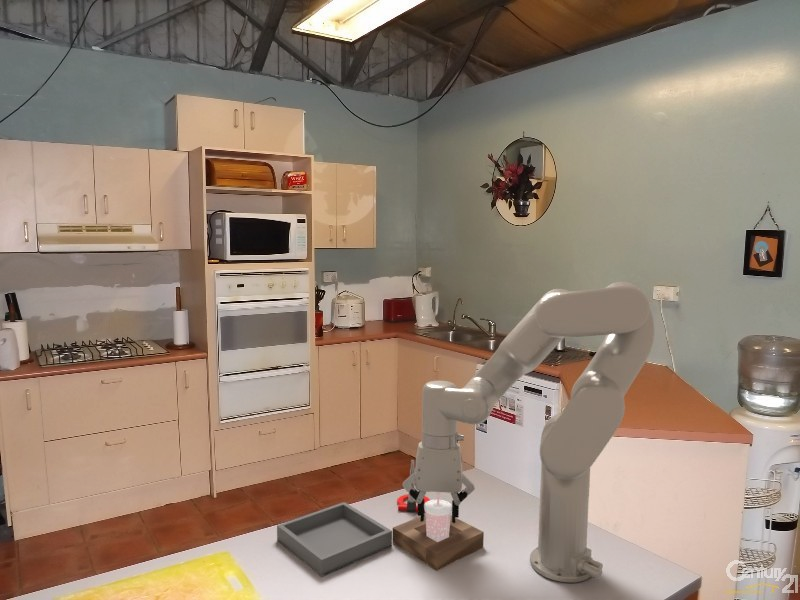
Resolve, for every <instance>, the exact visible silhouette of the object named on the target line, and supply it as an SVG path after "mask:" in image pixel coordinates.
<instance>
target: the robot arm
mask: <svg viewBox="0 0 800 600" xmlns="http://www.w3.org/2000/svg"><path fill="white" fill-rule="evenodd" d="M596 336H605V337H604V339H603V340H602V343H601V344H600V345H599V347H598V349H597V350H596V353H595V354H594V356H593V357H592V358H591V360H590V361H589V363H588V364H587V366H586V368H584V370H583V371H582V373H581V375H580V376H579V377H578V378H577V380H575V382H574V384H573V385H572V389H571V390H570V391H571V392H570V399H569V401H568V402H567V404H566V405H565V407H564V408H563V410H562V412H559V413H557V414H554V415H552V416H551V417H550V418H548V420H547V421H546V422H545V424H544V426H543V429H542V432H541V438H540V444H539V459H540V462H541V464H540V486H539V487H540V489H539V510H538V511H539V514H538V515H539V517H538V542H537V544H538V545H537V546H538V547H536V548H534V549H533V550H532V551H531V553H530V555H529V562H530V566H531V567H532V568H533V570H534V571H536V572H537V573H538V574H540V575H541V576H542V577H545V578H547V579H550V580H552V581H556V582H560V583H562V582H563V583H579V582H583V581H586V580H589V578H591V577H593V578H595V579H596V580H600V579H601V577H602V575H603V567H604V565H603V563H602V562H600V561H598V560H595V559H593V557H592V549H591V548H588V547H587V546H588V545H587V544H588V543H587V542H588V525H589V524H588V523H589V522H588V521H589V501H590V500H589V499H590V498H589V497H590V485H591V484H590V482H591V481H590V479H591V467H592V466H593V465H594V463H595V462H596V461H597V459H598V458H599V456H600V455H601V454H602V452H603V450H605V448H606V446H607V445H608V444H609V442H610V441H611V439H612V438H613V437H614V435H615V433H616V432H617V430H618V429H619V427H620V424H621V423H622V421H623V418H624V416H625V410H626V403H625V397H626V396H625V395H626V394H627V392H628V391H629V389H630V387H631V385H632V384H633V383H634V382H635V379H636V378H637V377H638V374H639V373H640V372H641V370H642V369H643V367H644V365H645V363H646V362H647V360H648V358H649V356H650V353H651V351H652V348H653V345H654V339H655V323H654V317H653V313H652V309H651V308H650V301H649V299H648V297H647V296H646V294H645V293H644V292H643V290H641V289H640V288H639V287H638V286H636V285H634V284H633V283H631V282H627V281H617V282H613V283H610V284H609V285H607V286H606V287H603V288H602V287H601V288H595V289H587V290H586V289H584V290H573V291H572V290H571V291H570V290H568V289H564V288H554V289H551V290H549V291H547V292H546V293H545V294H543V296H541V298H540V299H539V300H538V301H537V302H536V303H535V304H534V306H532V308H531V309H530V310H529V311H528V312H527V313H526V315H525V316H524V317H523V318H522V319H521V320H520V321H519V322H518V323H517V325H516V326H515V327H514V328H512V330H510V331H509V333H508V334H507V335H506V337H504V339H503V340H502V341H501V342H500V344H499V346H498V348H497V349H496V350H495V352H494V353H493V354H492V355H491V357H490V358H489V359H488V360H486V362H485V363H484V364H483V365H482V367H481V368H480V369H479V370H478V371H477V372H476V373H475V374H474V376H473V377H471V379H470V380H469V381H468V382H467V383H466V384H465V385H464V387H461V388H458V387H457V386H456V384H455V383H453V382H452V381H447V380H431V381H428V382H425V384H424V385H423V387H422V394H421V396H422V397H421V398H422V399H421V405H422V406H421V441H420V442H418V444H417V449H416V456H415V466H414V468H415V472H414V473H413V474H412V475H410V474H409V476H408V477H407V478H406V479H405V480H404V481H403V482H402V488H404V489H405V491H406V492H407V493H408V494H409V493H410V495H411V496H412V497H413V498H414V499H415V500H416V504H417V505H418V512H416V513H417V516H418V517H420V516H421V519H420V522H423V521H424V515H425V513H424V496H426V494H427V493H436V494H437V493H439V494H440V493H441V494H450V496H451V497H452V500H451V505H452V511H451V516H452V522H453V523H455V518H457V519H459V517H460V515H459V514H460V513H459V512H460V511H459V510H460V507H459V506H460V505H461V503H462V502H463V501H465V499H467V498H468V496H469V495H471V493H473V492H474V491H475V484H474V483H473V482H472V481H471V480H470V479H469V478H468V477H467V476H466V475H465V474H464V473H463V458H462V455H463V454H462V448H461V445H460V442H464V441H465V440H464V439H465V438H464V437H465V436H464V434H460V433H459V432H458V422H460V423H464V424H467V425H480V424H483V423H484V422H485V421H487V420H488V418H490V415H491V413H492V411H493V409H494V408H495V406H496V404H497V403H498V402H499V400H501V398H502V397H504V395H505V394H506V393H507V391H509V389H510V388H511V387H512V386H513V385H514V384H515V383H516V382H517V381H518V380H519V379H520V378H522V377H524V375H527V374H528V373H532V371H535V369H536V368H538V366H539V365H540V364H541V363H542V362H543V361H544V360H545V359H546V358H547V357H548V356H549V354H550V353H551V352H553V351H554V349H555V348H556V347H557V346H558V345H559V344H560V343H561V342H562V341H563V340H564V339H566V338H568V339H569V338H584V337H596ZM414 481H415V487H412V485H411V484H412V483H413V482H414ZM463 485H464V486H465V488H464V489H462V488H463Z"/></svg>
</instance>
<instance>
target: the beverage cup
mask: <svg viewBox="0 0 800 600" xmlns="http://www.w3.org/2000/svg"><path fill="white" fill-rule="evenodd" d="M424 510H425V513H424V515H425V514H426V533H427V536H428V537H429V538H431V539H433V540H434V541H436V542H439V541H441V540H443V539H446V538H448V537H449V529H450V516H452V502H449V501H447V500H444V499H440V493H436V499H430V501H428V502H426V503H425V504H424Z"/></svg>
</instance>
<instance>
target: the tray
mask: <svg viewBox="0 0 800 600" xmlns="http://www.w3.org/2000/svg"><path fill="white" fill-rule="evenodd" d="M276 540H277V542H279V543H280V544H281V545H282V546H283V547H284V548H286V549H287V550H289V552H290V553H292V554H293V555H294V556H296V557H297V558H298V559H299V560H300V561H302V562H303V563H304V564H306V566H307V567H309V568H310V569H311V570H313V571H314V572H315V573H317V574H318V575H319V576H320V577H321V578H323V577H324V576H327V575H329V574H332V573H334V572H336V571H338V570H341V569H343V568H345V567H348V566H349V565H352V564H354V563H356V562H359V561H362V560H364V559H365V558H368V557H370V556H373V555H375V554H377V553H380V552H382V551H384V550H387V549H389V548H391V547H393V530H391V529H390V528H387V527H386V526H385V525H383V524H381V523H380V522H378V521H376V520H375V519H374V518H371V517H370V516H368V515H366V514H365V513H363V512H362V511H360V510H359V509H357V508H355V507H353V506H352V505H350V504H349V503H347V502H345V501H344V502H340V503H337V504H335V505H331V506H328V507H326V508H323V509H321V510H317V511H315V512H311V513H309V514H308V513H307V514H305V515H303V516H300V517H296V518H294V519H291V520H288V521H285V522H283V523H280V524H278V525H276Z"/></svg>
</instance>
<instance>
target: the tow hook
mask: <svg viewBox="0 0 800 600" xmlns="http://www.w3.org/2000/svg"><path fill="white" fill-rule="evenodd" d="M414 472H415V460H414V459H411V460H410V468H409V476H410V475H412V474H413V473H414ZM411 485H412V487H414V488H416V487H415V481H414V482H413V483H412V484H411ZM430 500H431V499H430V498H429V497H427V496H426V495H425V496H424V504H425V503H426V502H428V501H430ZM405 501H407V502H405ZM396 503H397V511H399V512H400V511H401V512H407V513H417V512H418V504H417V502H416V500H415V499H414V498H413V497H412V496H411V495H410V493H409V492H408V494H403V495H400V496H399V497H398V498H397V500H396ZM424 514H425V510H424Z"/></svg>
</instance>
